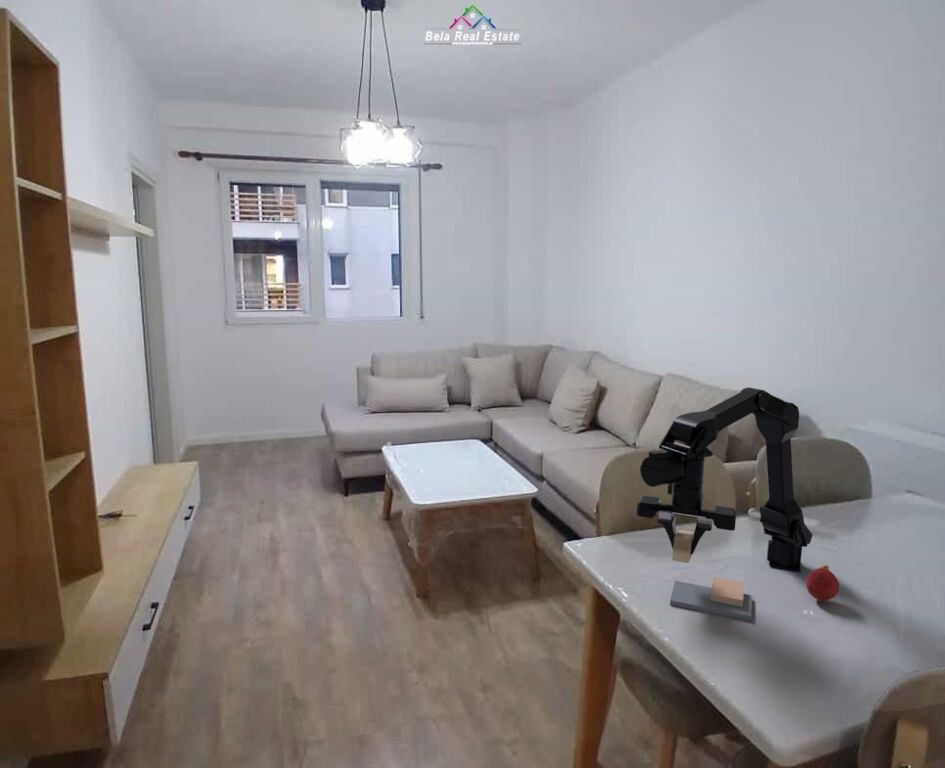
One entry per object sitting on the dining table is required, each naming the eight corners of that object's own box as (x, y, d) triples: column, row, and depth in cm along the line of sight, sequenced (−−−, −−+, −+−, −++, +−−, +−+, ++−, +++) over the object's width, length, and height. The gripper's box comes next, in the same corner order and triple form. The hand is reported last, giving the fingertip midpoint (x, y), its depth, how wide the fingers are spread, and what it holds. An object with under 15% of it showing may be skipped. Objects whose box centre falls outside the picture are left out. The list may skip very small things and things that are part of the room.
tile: (744, 582, 131) (743, 600, 123) (743, 589, 131) (742, 608, 124) (713, 577, 133) (710, 594, 126) (712, 584, 133) (710, 601, 126)
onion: (825, 611, 124) (829, 574, 123) (798, 598, 129) (802, 562, 128) (843, 604, 127) (847, 567, 126) (816, 592, 132) (820, 556, 131)
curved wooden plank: (688, 563, 123) (690, 540, 123) (672, 560, 124) (674, 537, 124) (692, 552, 134) (694, 531, 134) (678, 549, 135) (679, 528, 135)
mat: (751, 599, 129) (751, 595, 129) (750, 621, 121) (751, 616, 121) (675, 585, 135) (675, 580, 135) (670, 604, 127) (670, 600, 127)
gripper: (739, 473, 129) (733, 544, 132) (646, 462, 137) (642, 530, 140) (738, 490, 119) (731, 566, 122) (638, 477, 127) (634, 549, 129)
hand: (683, 552), depth 129 cm, fingers closed on curved wooden plank, 3 cm apart
